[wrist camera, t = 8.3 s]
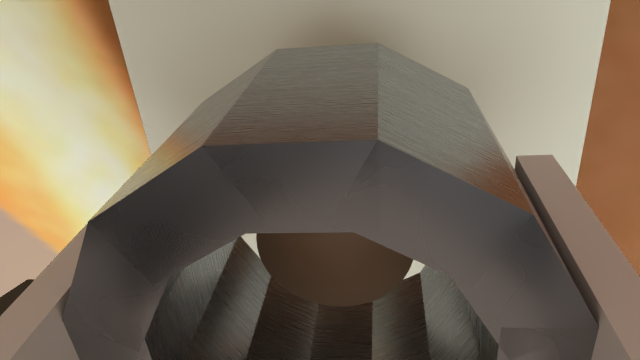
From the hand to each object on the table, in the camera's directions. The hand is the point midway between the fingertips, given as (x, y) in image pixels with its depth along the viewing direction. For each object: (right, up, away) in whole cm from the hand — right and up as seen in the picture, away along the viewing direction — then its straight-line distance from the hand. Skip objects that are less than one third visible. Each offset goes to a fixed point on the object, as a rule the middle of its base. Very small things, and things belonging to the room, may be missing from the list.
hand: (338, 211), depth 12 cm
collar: (0, 0, 0) cm, 0 cm away
